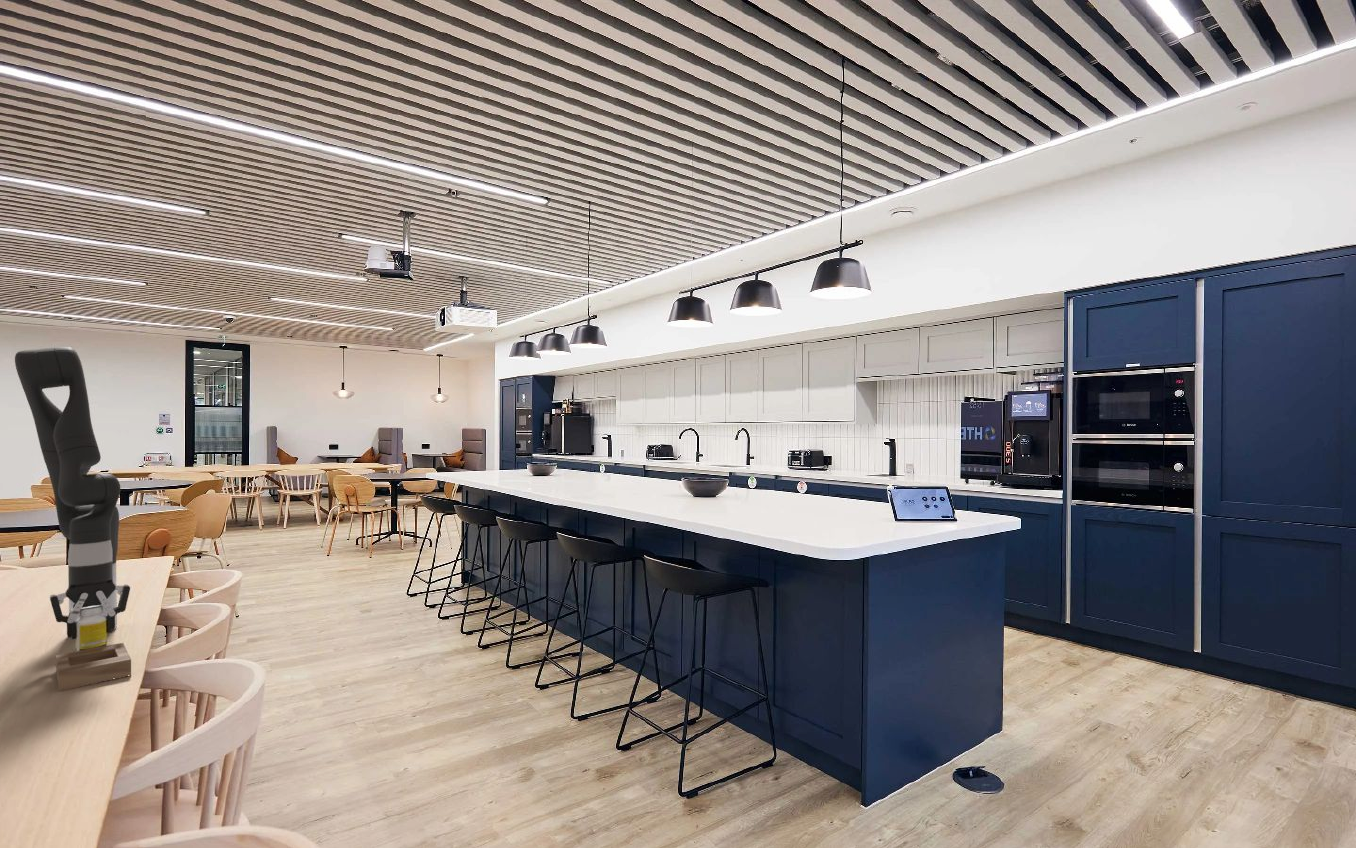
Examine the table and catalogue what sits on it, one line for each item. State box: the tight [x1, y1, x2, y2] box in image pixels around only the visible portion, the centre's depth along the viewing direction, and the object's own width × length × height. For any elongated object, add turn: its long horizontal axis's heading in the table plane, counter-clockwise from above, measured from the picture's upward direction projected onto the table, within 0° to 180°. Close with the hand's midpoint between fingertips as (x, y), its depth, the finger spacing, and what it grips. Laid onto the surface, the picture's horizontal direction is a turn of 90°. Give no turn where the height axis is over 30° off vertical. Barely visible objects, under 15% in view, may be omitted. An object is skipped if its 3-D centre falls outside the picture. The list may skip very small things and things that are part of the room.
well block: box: [55, 642, 132, 692], centre depth 138 cm, size 16×11×4 cm
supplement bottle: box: [74, 605, 108, 652], centre depth 148 cm, size 5×5×10 cm
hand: (91, 635), depth 148 cm, fingers closed on supplement bottle, 5 cm apart
